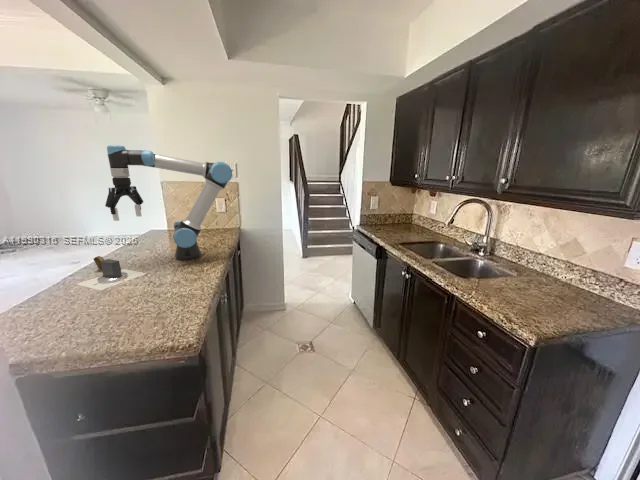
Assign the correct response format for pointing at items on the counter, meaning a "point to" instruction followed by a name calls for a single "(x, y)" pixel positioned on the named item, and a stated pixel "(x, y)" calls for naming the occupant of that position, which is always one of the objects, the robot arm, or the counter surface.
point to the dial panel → (100, 286)
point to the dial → (111, 272)
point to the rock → (98, 262)
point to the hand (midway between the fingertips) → (128, 218)
